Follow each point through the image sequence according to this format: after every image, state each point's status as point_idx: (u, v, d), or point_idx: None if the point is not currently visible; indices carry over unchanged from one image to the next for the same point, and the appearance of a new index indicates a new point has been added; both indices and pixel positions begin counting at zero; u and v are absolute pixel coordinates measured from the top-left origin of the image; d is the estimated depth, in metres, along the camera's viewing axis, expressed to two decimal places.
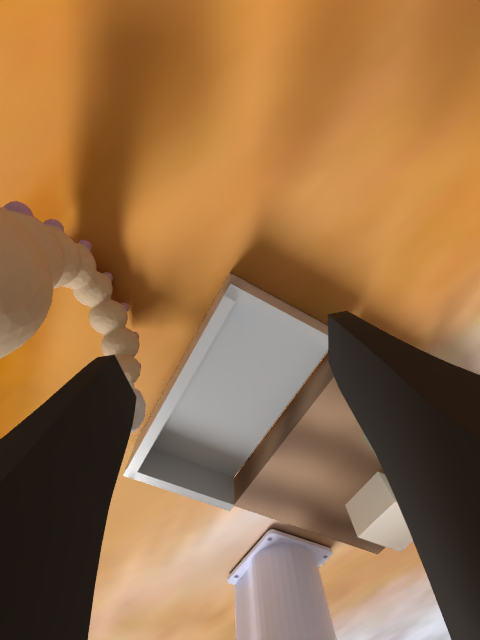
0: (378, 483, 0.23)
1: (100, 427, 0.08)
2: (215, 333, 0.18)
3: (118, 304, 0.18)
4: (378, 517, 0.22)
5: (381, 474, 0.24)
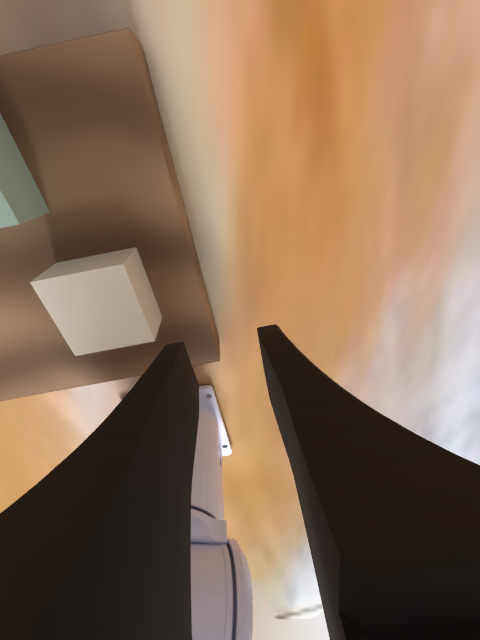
0: None
1: (181, 412, 0.08)
2: None
3: None
4: (51, 316, 0.14)
5: (58, 263, 0.15)
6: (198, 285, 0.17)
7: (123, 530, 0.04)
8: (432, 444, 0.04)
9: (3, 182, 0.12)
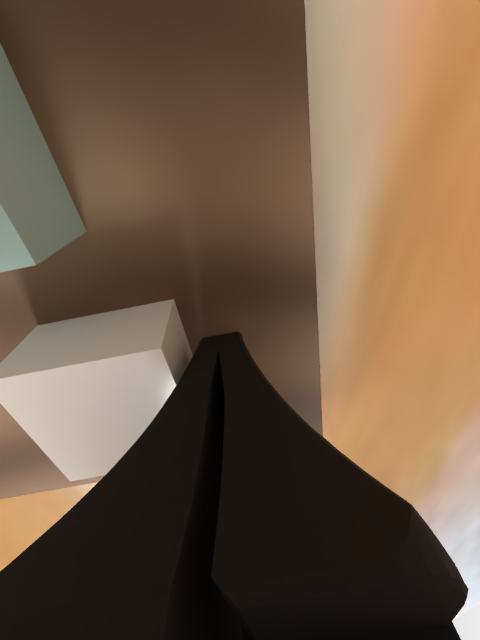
0: None
1: (224, 405, 0.08)
2: None
3: None
4: (26, 431, 0.08)
5: (41, 327, 0.09)
6: (317, 343, 0.11)
7: (204, 516, 0.04)
8: (343, 459, 0.04)
9: (1, 175, 0.05)
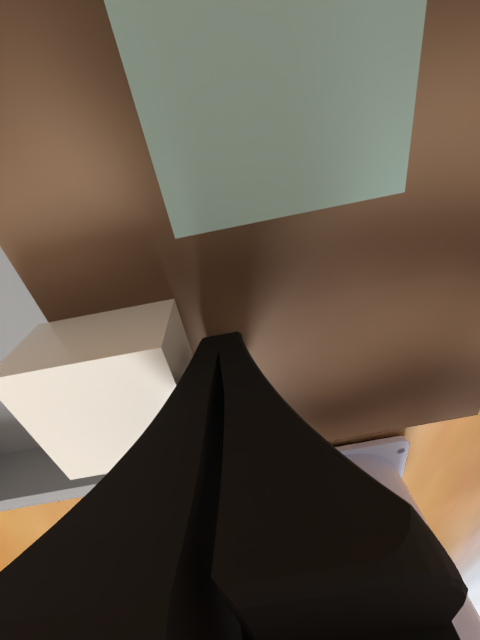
0: None
1: (225, 405, 0.08)
2: None
3: None
4: (27, 430, 0.08)
5: (42, 326, 0.09)
6: None
7: (204, 517, 0.04)
8: (343, 459, 0.04)
9: None
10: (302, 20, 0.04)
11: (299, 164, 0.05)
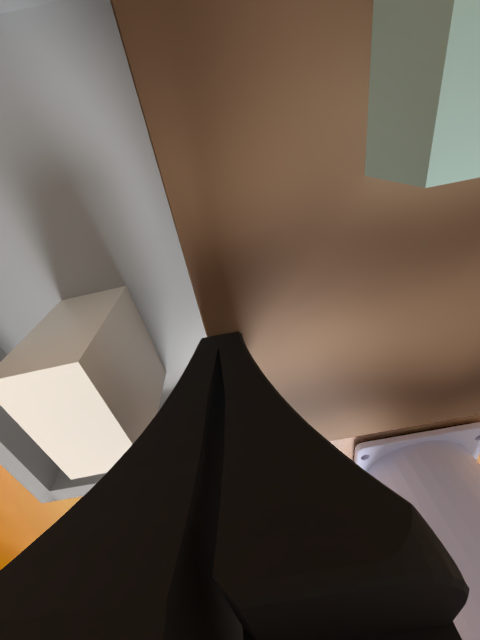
0: None
1: (224, 405, 0.08)
2: None
3: None
4: None
5: (119, 289, 0.11)
6: None
7: (203, 517, 0.04)
8: (344, 459, 0.04)
9: None
10: None
11: None
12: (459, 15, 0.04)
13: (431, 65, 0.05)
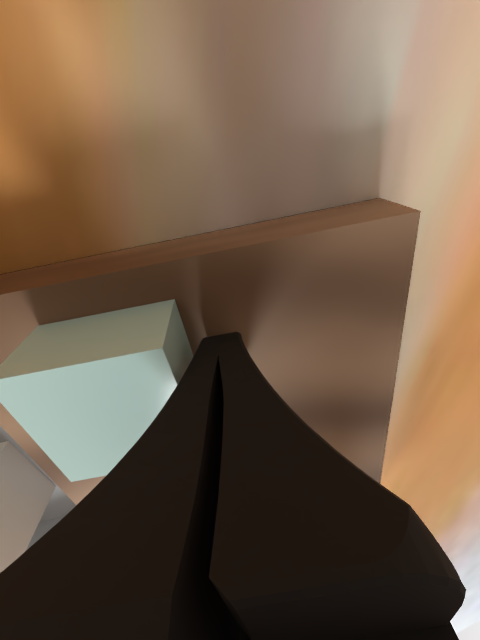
0: None
1: None
2: None
3: None
4: None
5: (2, 445, 0.15)
6: (384, 444, 0.14)
7: (206, 516, 0.04)
8: (341, 460, 0.04)
9: None
10: (118, 412, 0.08)
11: None
12: (35, 435, 0.08)
13: None
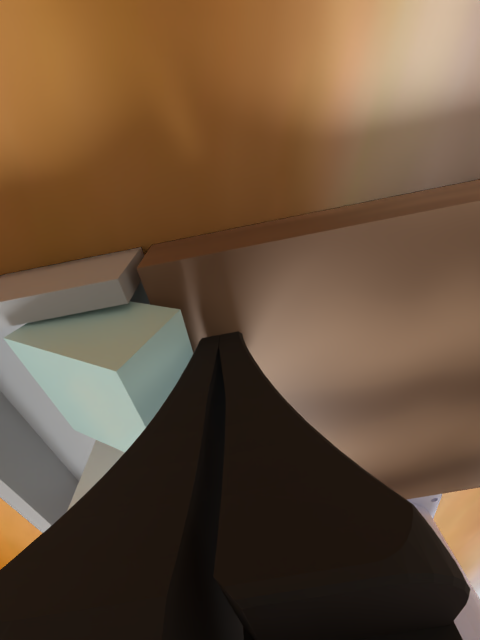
0: None
1: (223, 405, 0.08)
2: None
3: None
4: None
5: None
6: None
7: (202, 517, 0.04)
8: (344, 459, 0.04)
9: None
10: (94, 402, 0.08)
11: (114, 437, 0.09)
12: (44, 388, 0.10)
13: None
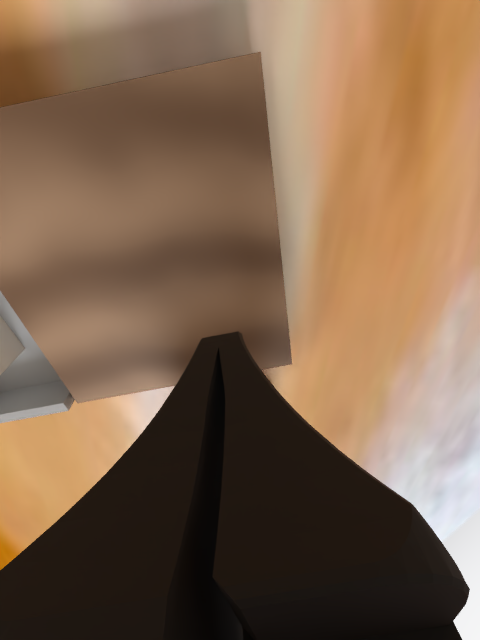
0: None
1: (224, 405, 0.08)
2: None
3: None
4: None
5: None
6: (283, 292, 0.18)
7: (203, 517, 0.04)
8: (344, 459, 0.04)
9: None
10: None
11: None
12: None
13: None
